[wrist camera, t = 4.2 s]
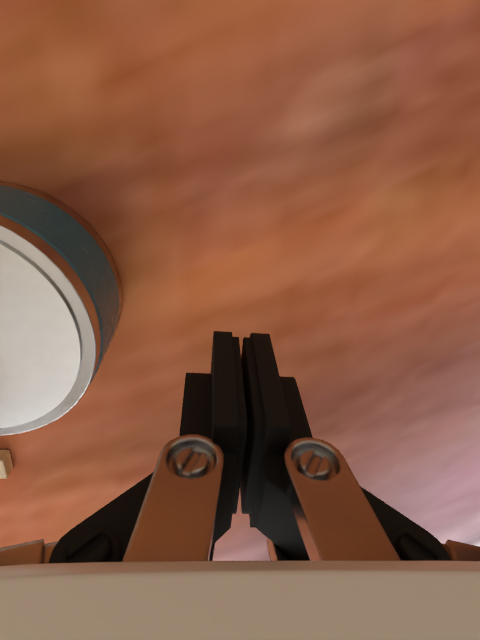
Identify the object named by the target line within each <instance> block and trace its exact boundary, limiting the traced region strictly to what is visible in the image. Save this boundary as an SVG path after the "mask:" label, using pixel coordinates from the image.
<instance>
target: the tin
mask: <svg viewBox="0 0 480 640" xmlns="http://www.w3.org/2000/svg"><path fill="white" fill-rule="evenodd" d="M121 308H122V288H121V281H120V277H119V273H118V270H117V267H116V265H115V262H114V260H113V257H112V256H111V254H110V252H109V250H108V248H107V247H106V245H105V244H104V242H103V241H102V239H101V238H100V237H99V235H98V234H97V233H96V232H95V230H94V229H93V228H92V227H91V226H90V225H89V224H88V223H87V222H86V221H85V220H84V219H83V218H82V217H80V216H79V215H78V214H77V213H76V212H75V211H73V210H72V209H70V208H69V207H67V206H66V205H64V204H63V203H62V202H60V201H58V200H56V199H54V198H52V197H50V196H49V195H47V194H44V193H42V192H39V191H37V190H34V189H32V188H28V187H24V186H21V185H17V184H11V183H4V182H0V436H2V435H11V434H19V433H23V432H27V431H32V430H34V429H37V428H40V427H43V426H45V425H47V424H49V423H51V422H53V421H55V420H57V419H58V418H60V417H61V416H63V415H64V414H66V413H67V412H68V411H69V410H70V409H71V408H73V407H74V406H75V405H76V404H77V403H78V401H79V400H80V399H81V397H82V396H83V395H84V393H85V392H86V390H87V388H88V386H89V384H90V383H91V382H92V380H93V378H94V376H95V374H96V372H97V370H98V368H99V366H100V364H101V362H102V360H103V357H104V355H105V353H106V351H107V349H108V347H109V345H110V342H111V340H112V338H113V336H114V333H115V330H116V327H117V324H118V321H119V318H120V314H121Z"/></svg>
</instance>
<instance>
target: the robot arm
mask: <svg viewBox="0 0 480 640" xmlns="http://www.w3.org/2000/svg"><path fill="white" fill-rule="evenodd" d="M239 490H240V493H241V507H242V513H243V514H249V516H250V527H256V528H257V529H258V530H259V531H261V532H262V533H263V534H264V535H265V536H266V537H268V539H267V546H268V552H269V555H270V559H271V561H213V557H214V551H215V542H216V541H217V540H218V539H219V538H220V537H221V536H222V535H223V534H224V533H225V532H227V531H228V530H229V529H230V527H231V520H232V514H236V511H237V504H238V497H239ZM0 640H480V547H478V546H474V545H469V544H465V543H460V542H456V541H451V540H447V542H446V544H441V543H440V542H439V541H438V539H436V538H435V537H434V536H433V535H431V534H430V533H429V532H428V531H426V530H425V529H423V528H422V527H420V526H419V525H417V524H416V523H414V522H413V521H411V520H410V519H408V518H407V517H405V516H404V515H402V514H401V513H399V512H398V511H396V510H395V509H393V508H392V507H390V506H389V505H387V504H386V503H384V502H383V501H381V500H380V499H378V498H377V497H375V496H374V495H372V494H371V493H369V492H368V491H366V490H365V489H363V488H362V487H360V486H359V484H358V482H357V480H356V478H355V477H354V475H353V473H352V471H351V469H350V467H349V466H348V464H347V462H346V460H345V458H344V457H343V455H342V454H341V453H340V451H339V450H338V449H336V448H335V447H334V446H333V445H331V444H330V443H328V442H326V441H324V440H320V439H317V438H312V434H311V431H310V427H309V424H308V421H307V417H306V414H305V410H304V407H303V404H302V400H301V397H300V393H299V390H298V387H297V383H296V380H295V378H294V377H279V373H278V368H277V364H276V360H275V356H274V352H273V348H272V343H271V339H270V335H269V334H259V333H251V334H250V338H246V337H244V339H243V346H242V355H240V345H239V337H232V332H220V331H214V334H213V348H212V362H211V374H204V373H186V378H185V388H184V398H183V407H182V417H181V427H180V436H179V437H177V438H175V439H173V440H171V441H170V442H169V443H167V444H166V445H165V446H164V448H163V449H162V451H161V453H160V456H159V458H158V461H157V464H156V467H155V470H154V472H153V473H152V474H150V475H149V476H147V477H146V478H145V479H143V480H142V481H140V482H139V483H137V484H136V485H134V486H133V487H132V488H130V489H129V490H127V491H126V492H124V493H123V494H121V495H120V496H119V497H117V498H116V499H114V500H113V501H111V502H110V503H109V504H107V505H106V506H104V507H103V508H101V509H100V510H98V511H97V512H96V513H94V514H93V515H91V516H90V517H88V518H87V519H86V520H84V521H83V522H81V523H80V524H78V525H77V526H75V527H74V528H73V529H71V530H70V531H69V532H68V533H66V534H65V535H64V536H63V537H62V538H61V539H60V540H59V541H57V542H53V543H48V544H45V543H44V539H41V540H37V541H32V542H27V543H22V544H17V545H13V546H8V547H3V548H0Z"/></svg>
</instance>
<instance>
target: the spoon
mask: <svg viewBox="0 0 480 640" xmlns="http://www.w3.org/2000/svg"><path fill="white" fill-rule="evenodd" d="M12 469H13V464H12V459H11V455H10V451H9V450H0V479H7V478H8V476H9V475H10V473H11V471H12Z"/></svg>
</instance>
